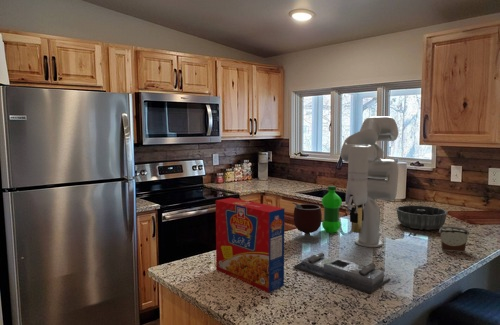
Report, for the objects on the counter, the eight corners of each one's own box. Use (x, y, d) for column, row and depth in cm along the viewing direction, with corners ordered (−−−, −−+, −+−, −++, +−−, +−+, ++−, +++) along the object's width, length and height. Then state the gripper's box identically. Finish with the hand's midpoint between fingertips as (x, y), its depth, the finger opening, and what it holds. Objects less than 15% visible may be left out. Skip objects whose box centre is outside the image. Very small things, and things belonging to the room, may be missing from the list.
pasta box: (216, 269, 138) (215, 200, 136) (231, 264, 144) (231, 197, 141) (268, 293, 118) (269, 212, 116) (283, 285, 124) (284, 208, 121)
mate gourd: (311, 234, 185) (312, 197, 183) (326, 242, 172) (327, 202, 170) (285, 238, 179) (285, 199, 177) (299, 246, 166) (300, 205, 164)
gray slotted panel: (316, 257, 151) (317, 244, 150) (390, 279, 128) (390, 264, 128) (294, 268, 139) (294, 253, 139) (370, 294, 117) (370, 277, 116)
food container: (464, 247, 164) (465, 226, 163) (468, 252, 158) (469, 230, 157) (435, 245, 167) (436, 225, 166) (438, 249, 161) (439, 228, 160)
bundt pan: (387, 226, 202) (387, 209, 201) (407, 218, 219) (408, 202, 218) (435, 236, 182) (436, 217, 181) (453, 227, 199) (454, 209, 198)
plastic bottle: (332, 235, 183) (333, 188, 181) (317, 230, 192) (318, 185, 189) (344, 232, 189) (345, 186, 187) (329, 227, 197) (330, 184, 195)
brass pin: (354, 229, 144) (354, 205, 143) (363, 231, 141) (364, 207, 140) (349, 231, 141) (350, 207, 140) (358, 233, 139) (359, 208, 138)
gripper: (359, 173, 148) (358, 215, 150) (338, 177, 136) (337, 223, 138) (376, 175, 142) (374, 219, 144) (356, 179, 131) (355, 227, 132)
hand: (356, 220), depth 141 cm, fingers closed on brass pin, 4 cm apart
